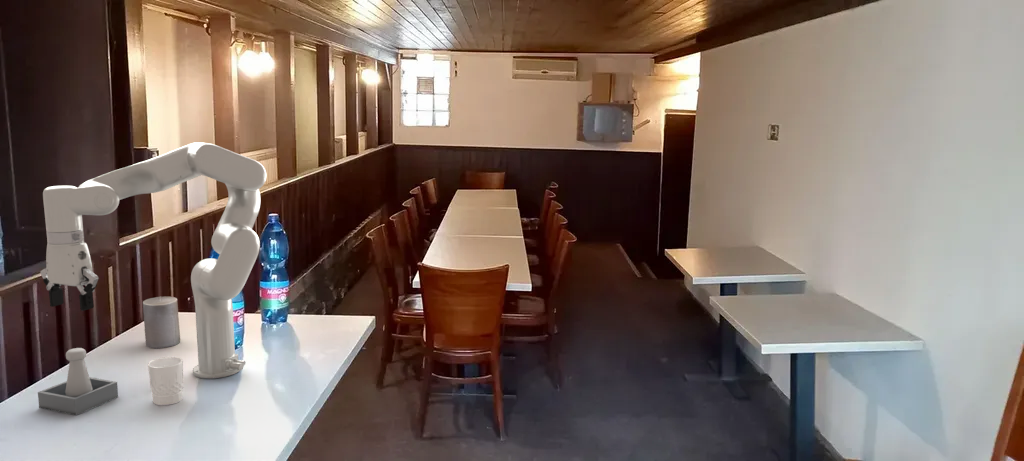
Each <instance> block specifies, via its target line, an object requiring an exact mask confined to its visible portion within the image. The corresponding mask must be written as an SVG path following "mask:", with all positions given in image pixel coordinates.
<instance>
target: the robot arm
mask: <svg viewBox="0 0 1024 461" xmlns="http://www.w3.org/2000/svg"><path fill="white" fill-rule="evenodd" d="M200 176H204V177H207V178H210V179H213V180H215V181H217V182H221V183H223V184H225V186H226V189H227V192H228V193H227V194H228V198H227V202H226V206H225V209H224V211H223V212H222V215H221V217H220V219H219V221H218V223H217V226H216V228H215V230H214V232H213V235H212V236H211V241H210V243H211V247H212V249H213V251H215V253H217V254H218V255H219V256H218V258H213V257H212V258H210V257H209V258H204V259H202V260H199V262H197V263H196V264H195V265H194V266H193V268H192V270H191V275H190V283H191V289H192V296H193V300H194V306H195V307H194V310H195V311H194V312H195V327H196V343H197V344H196V345H197V346H196V347H197V359H198V363H197V364H196V365H195V366H193V368H192V375H193V376H195V377H197V378H199V379H200V378H201V379H221V378H225V377H230V376H233V375H235V374H238V373H239V372H240V371H243V369H244V368H245V365H246V361H245V360H243V359H239V354H238V353H236V350H235V348H236V347H235V328H234V327H235V326H234V308H233V307H234V306H233V300H232V299H235V297H237V296H238V295H239V294H240V293H241V292H242V290H243V289H244V288H245V287H244V286H245V284H246V283H247V280H248V278H249V276H250V274H251V271H252V269H253V267H254V265H255V263H256V260H257V259H258V256H259V253H260V248H261V245H260V244H261V242H260V238H259V236H258V234H257V232H255V231H254V230H253V228H254V226H255V223H256V220H257V219H258V218H257V217H258V216H259V213H260V208H261V192H260V189H261V188H262V187H263V186H264V185H265V183H266V181H267V171H266V168H265V167H264V166H263V164H262V163H261V162H259V161H258V160H255V159H254V158H251V157H248V156H245V155H242V154H239V153H237V152H234V151H232V150H229V149H227V148H224V147H222V146H219V145H216V144H214V143H211V142H210V143H208V142H201V141H199V142H191V143H188V144H186V145H183V146H181V147H179V148H178V147H177V148H176V149H173V150H170V151H168V152H166V153H163V154H161V155H158V156H155V157H153V158H150V159H147V160H143V161H140V162H137V163H134V164H132V165H128V166H125V167H122V168H119V169H115V170H112V171H110V172H106V173H104V174H101V175H99V176H96V177H94V178H91V179H88V180H86V181H85V182H83V183H81V184H79V185H78V187H77V186H74V185H66V184H65V185H53V186H48V187H46V188H44V189H43V192H42V200H43V208H44V209H43V210H44V218H45V219H44V221H45V229H46V238H47V239H46V240H47V245H46V254H45V255H46V256H45V259H46V260H45V262H46V267H45V268H43V269H42V270H40V271H39V273H40V276H41V277H42V279H43V280H42V281H43V283H44V284H45V286H46V287H45V288H46V290H47V291H48V297H49V298H48V299H49V305H50V307H53V308H54V307H57V306H61V305H63V304H64V293H63V292H64V291H63V287H61V286H69V287H76V288H77V290H78V291H79V292H80V294H78V295H79V296H78V298H79V307H80V311H82V312H84V311H87V310H90V309H94V306H95V305H94V295H93V293H95V289H96V288H97V286H98V281H99V276H98V275H97V274H95V273H94V271H93V270H94V269H93V264H92V257H91V255H90V254H91V253H90V250H89V246H88V244H87V242H85V234H84V225H83V216H84V215H85V216H105V215H109V214H111V213H113V212H114V211H116V209H118V206H119V204H120V200H123V199H126V198H129V197H134V196H137V195H144V194H155V193H159V192H163V191H167V190H169V189H172V188H173V187H175V186H178V185H180V184H183V183H186V182H187V181H191V180H192V179H195V178H198V177H200ZM84 286H85V287H84Z"/></svg>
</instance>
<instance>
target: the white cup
mask: <svg viewBox="0 0 1024 461" xmlns="http://www.w3.org/2000/svg"><path fill="white" fill-rule="evenodd" d="M147 367H148V369H147V370H148V376H149V383H150V391H151V395H152V402H153V404H154V405H157V406H170V405H173V404H177V403H179V402H181V401H183V398H184V397H183V396H184V393H183V389H184V360H183V358H181V357H178V356H165V357H160V358H156V359H153V360H150V361H149V362H148V364H147Z"/></svg>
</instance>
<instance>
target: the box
mask: <svg viewBox="0 0 1024 461" xmlns="http://www.w3.org/2000/svg"><path fill="white" fill-rule="evenodd" d="M89 378H90V381H91V385H92V388H93V391H90V392H88V393H86V394H83V395H81V396H78V397H76V398H74V397H69V396H66V393H65V391H66V384H67V380H66V381H64V382H61V383H58V384H55V385H54V386H51V387H48V388H45V389H42V390H39V391H38V392H37V398H38V408H39V409H43V410H48V411H53V412H58V413H62V414H63V413H64V414H66V415H67V414H68V415H72V416H78V415H81V414H83V413H85V412H88V411H90V410H92V409H94V408H96V407H99V406H101V405H104V404H105V403H108V402H110V401H113V400H115V399H117V398H119V391H118V390H119V389H118V381H113V380H108V379H102V378H96V377H91V376H89Z"/></svg>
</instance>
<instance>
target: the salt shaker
mask: <svg viewBox="0 0 1024 461" xmlns="http://www.w3.org/2000/svg"><path fill="white" fill-rule="evenodd" d="M86 357H87V351H86V349H84V348H82V347H76V348H75V347H74V348H70V349H68V350H67V351H66V352H65V359H66V360H67V361H69V365H68V369H67V377H66V378H67V379H66V381H67V384H66V391H65V393H66V396H69V397H74V398H76V397H78V396H81V395H83V394H86V393H88V392H90V391H93V388H92V385H91V381H90V378H89V377H90V375H89V372H88V367H87V364H86V362H85V361H86V360H85V358H86Z"/></svg>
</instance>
